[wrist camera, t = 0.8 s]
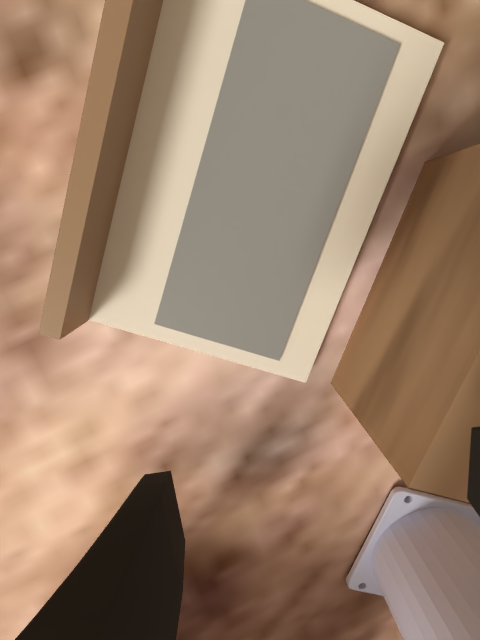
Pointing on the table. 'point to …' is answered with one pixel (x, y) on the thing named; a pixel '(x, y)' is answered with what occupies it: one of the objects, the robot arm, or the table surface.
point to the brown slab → (424, 334)
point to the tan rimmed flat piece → (232, 171)
